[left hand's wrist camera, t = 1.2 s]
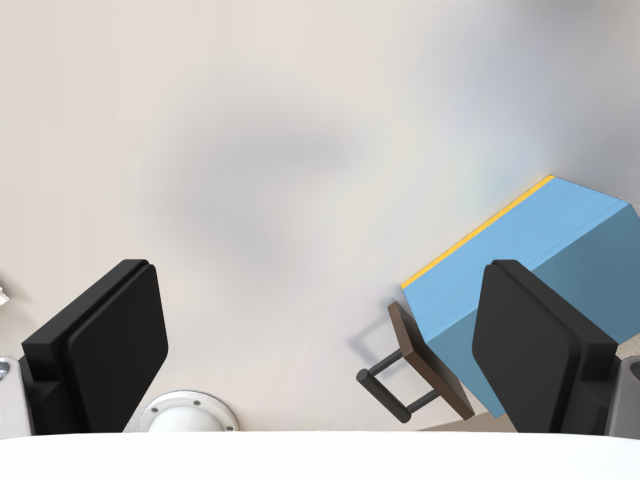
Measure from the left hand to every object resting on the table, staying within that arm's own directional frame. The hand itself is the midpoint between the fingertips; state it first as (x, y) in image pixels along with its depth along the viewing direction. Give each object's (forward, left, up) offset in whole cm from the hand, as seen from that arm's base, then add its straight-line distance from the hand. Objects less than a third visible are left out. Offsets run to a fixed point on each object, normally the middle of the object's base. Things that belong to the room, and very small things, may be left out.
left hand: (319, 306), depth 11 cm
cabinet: (-5, -22, -29) cm, 37 cm away
